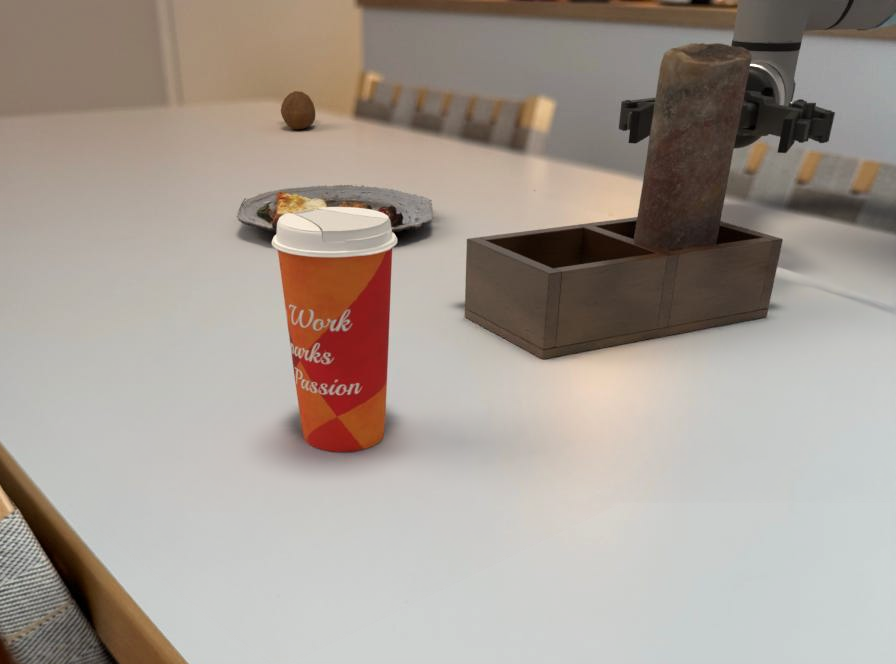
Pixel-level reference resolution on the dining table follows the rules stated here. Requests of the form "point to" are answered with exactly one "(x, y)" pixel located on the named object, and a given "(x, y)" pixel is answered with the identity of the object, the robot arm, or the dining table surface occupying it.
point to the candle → (691, 145)
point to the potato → (298, 110)
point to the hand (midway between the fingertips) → (707, 131)
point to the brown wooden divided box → (613, 285)
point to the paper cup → (338, 321)
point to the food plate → (336, 204)
